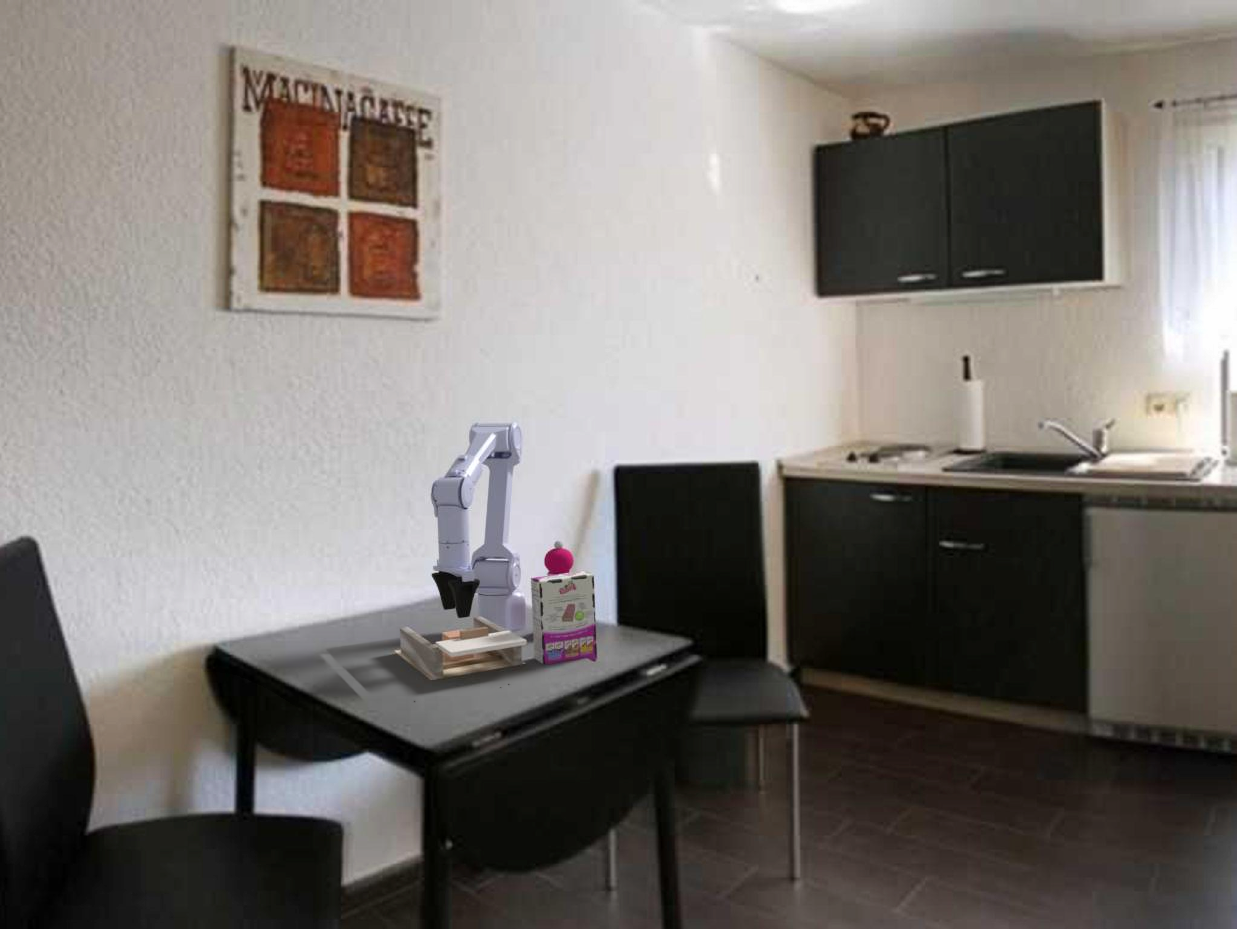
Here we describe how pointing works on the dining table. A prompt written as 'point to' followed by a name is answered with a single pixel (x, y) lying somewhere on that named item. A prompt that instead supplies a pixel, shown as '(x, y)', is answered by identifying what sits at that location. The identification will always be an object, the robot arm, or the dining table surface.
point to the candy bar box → (564, 617)
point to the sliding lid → (479, 642)
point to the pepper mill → (558, 560)
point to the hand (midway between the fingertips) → (456, 613)
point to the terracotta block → (450, 636)
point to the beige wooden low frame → (439, 667)
